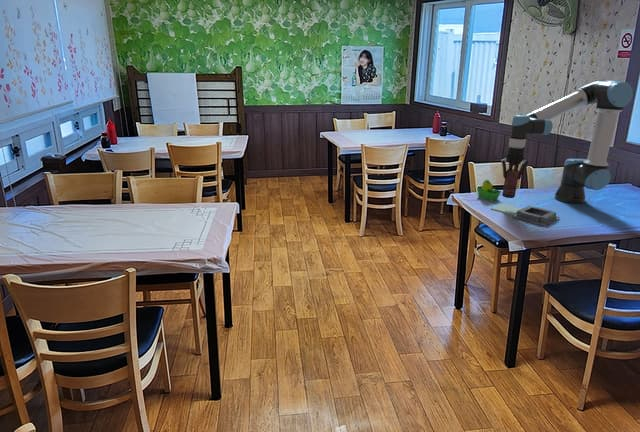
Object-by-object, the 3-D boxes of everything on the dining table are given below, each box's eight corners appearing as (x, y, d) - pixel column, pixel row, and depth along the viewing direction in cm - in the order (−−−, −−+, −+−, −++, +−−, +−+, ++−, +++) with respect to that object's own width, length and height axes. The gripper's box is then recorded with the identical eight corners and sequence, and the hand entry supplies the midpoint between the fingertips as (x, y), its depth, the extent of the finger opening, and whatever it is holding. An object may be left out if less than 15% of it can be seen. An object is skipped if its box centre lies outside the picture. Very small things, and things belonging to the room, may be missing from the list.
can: (509, 199, 231) (514, 172, 226) (499, 195, 236) (503, 169, 231) (517, 197, 234) (522, 171, 229) (507, 194, 239) (512, 168, 234)
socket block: (527, 210, 236) (528, 204, 234) (559, 219, 224) (560, 212, 223) (512, 217, 226) (513, 211, 224) (544, 226, 214) (545, 219, 213)
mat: (501, 204, 245) (502, 203, 245) (523, 210, 237) (523, 208, 237) (490, 209, 238) (490, 208, 238) (512, 214, 229) (512, 213, 229)
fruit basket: (500, 199, 254) (503, 180, 250) (490, 202, 249) (493, 182, 245) (483, 194, 263) (486, 175, 259) (473, 197, 258) (476, 178, 254)
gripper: (528, 145, 229) (521, 190, 237) (501, 144, 231) (494, 189, 239) (532, 148, 222) (524, 194, 230) (504, 147, 224) (497, 193, 232)
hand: (509, 192), depth 234 cm, fingers closed
